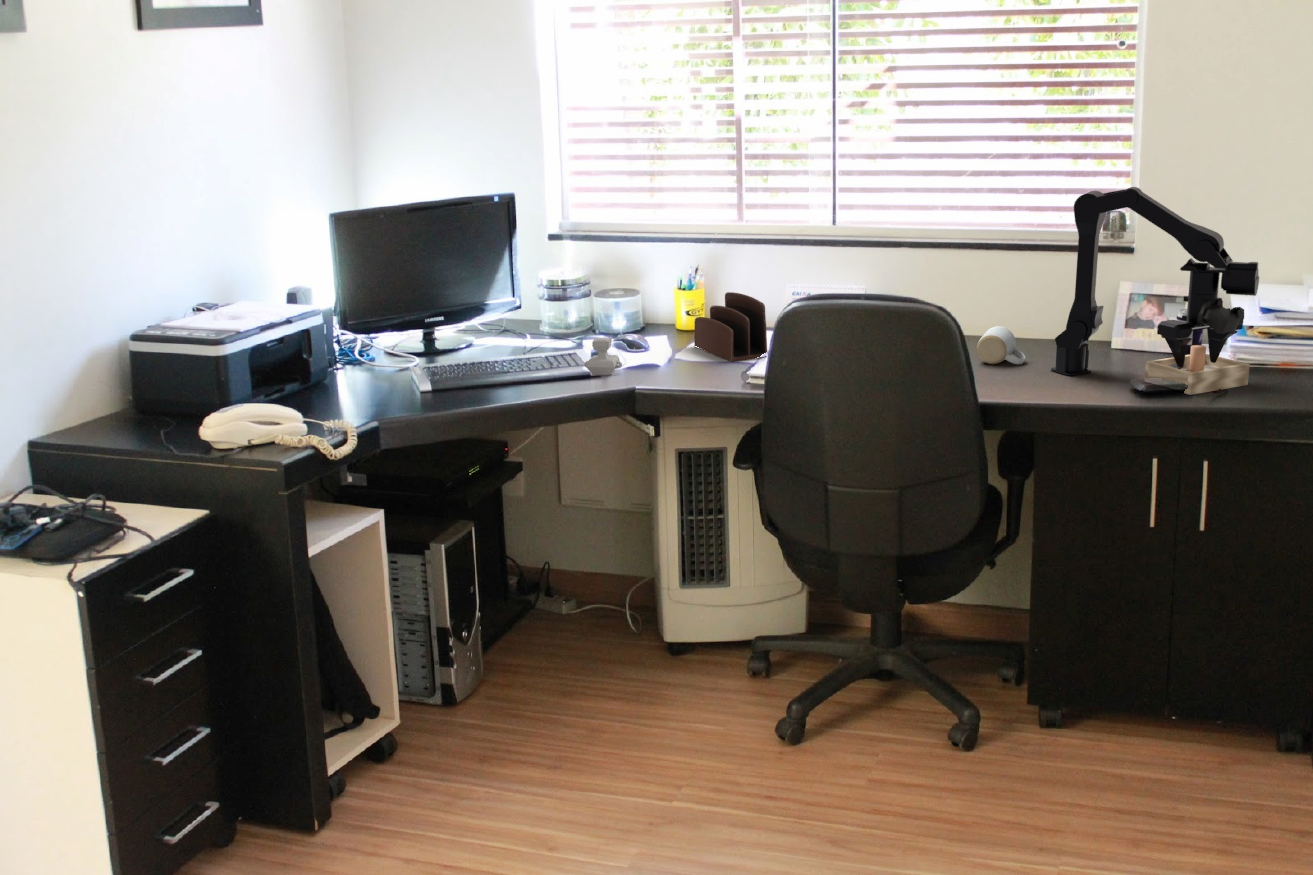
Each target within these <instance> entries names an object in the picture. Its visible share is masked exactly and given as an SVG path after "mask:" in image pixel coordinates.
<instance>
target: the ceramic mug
mask: <svg viewBox="0 0 1313 875" xmlns="http://www.w3.org/2000/svg"><path fill="white" fill-rule="evenodd" d="M1016 340H1017V339H1016V336H1015V335H1014V333H1013V332H1012V331H1011V330H1010V329H1008V328H1007V327H1005V326H1002V325H1001V326H1000V325H999V326H992V327H990V328H989V329H987V330H986V332H985V333H984V334H983V335H982V336H981V337H980V339H979V341H978V342H977V345H976V352H977V355H978V357H979V358H980V359H979V360H981V361H982V362H984V363H986V364H989V365H996V364H999V363H1001V362H1002V363H1003V361H1005V360H1006V361H1007V362H1009V363H1011V364H1014V365H1019V364H1020V365H1023V364H1024V362H1025V360H1026V355H1025V354H1024V353H1023V352H1022V351H1021V350H1020V349H1018V348H1016V346H1017V341H1016ZM1013 355H1014V356H1013Z"/></svg>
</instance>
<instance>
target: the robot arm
mask: <svg viewBox="0 0 1313 875" xmlns="http://www.w3.org/2000/svg"><path fill="white" fill-rule="evenodd" d="M1125 208H1126V209H1127V208H1128V209H1130V210H1131V211H1133V212H1135V213H1136V214H1138V215H1139V216H1141V217H1142V218H1144V219H1145V220H1147V221H1148V222H1149V223H1151V224H1153V225H1154V226H1156V227H1158V228H1159V229H1161V230H1162V231H1164V232H1165V233H1167V234H1168V235H1170V236H1171V237H1172V238H1174V239H1175V240H1176V241H1177V242H1178V243H1179V245H1180V246H1181V247H1182V249H1184V250H1185V251H1186V252H1187V253H1188V254H1189V255H1190V256H1191V258H1189V259H1188V260H1187V261H1186V263H1184V264H1183V265H1182V266H1180V267H1179V268H1180V269H1179V270H1180V271H1181V272H1189V284H1188V292H1187V294H1188V295H1184V296H1183V302H1185V303H1187V304H1186V305H1187V307H1186V309H1187V315H1182V320H1183V321H1187V322H1182V321H1178V320H1177V319H1168V320H1161V321H1160V322H1159V323H1158V324H1157V332H1156V334H1157V335H1160V336H1161V338H1163V339H1164V340H1165V341H1166V343H1167V346H1168V347H1169V349H1170V351H1171V354H1172V357H1174V359H1175V361H1176V364H1177V366H1178V367H1179V368H1183V366H1184V361H1185V353H1186V346H1187V344H1188V343H1189V342H1190V341H1191V339H1192V338H1188V337H1189V336H1190V335H1191V333H1192V331H1195V330H1202V329H1203V330H1206V331H1207V344H1208V354H1209V356H1210V361H1211V362H1212V363H1215V362H1216V361H1217V359H1218V357H1220V355H1221V352H1222V350H1223V348H1224V347H1225V344H1226V343H1227V340H1228V339H1229V338H1230V337H1232V336H1233V335H1236V334H1238V332H1239V331H1240V330H1243V325H1244V319H1245V309H1244V308H1242V307H1241V306H1237V307H1232V308H1226V307H1223V303H1224V301H1223V298H1222V297H1219V287H1220V289H1223V291H1224V292H1225V294H1226V295H1238V296H1257V294H1258V291H1259V290H1258V289H1259V283H1260V276H1259V263H1258V261H1251V262H1250V261H1248V262H1247V261H1246V262H1243V261H1241V262H1239V261H1233V258H1232V257H1231V255H1230V254H1229V253H1228V252H1227V250H1226V249H1225V248H1224V246H1225V242H1224V238H1223V236H1222V235H1221V234H1220V233H1219V232H1217V231H1215V230H1213V229H1209V228H1208V227H1206V226H1203V225H1200V224H1196V223H1193V222H1191V221H1188V220H1187V219H1185V218H1183V217H1182V216H1180V215H1179V214H1177V213H1176V212H1174V211H1173V210H1171V209H1169V208H1168V207H1166V206H1165V205H1163V204H1161V203H1160V202H1159V201H1157V200H1155V199H1154V198H1152V197H1151V196H1149V195H1148V194H1147V193H1144V192H1143V190H1142V189H1140V188H1139V187H1136V186H1130V187H1127V188H1126V189H1120V190H1113V191H1109V192H1104V193H1103V192H1101V191H1099V190H1090V191H1088V192H1086V193H1084V194H1082V195H1080V196H1078V197H1077V198H1076V199H1075V201H1074V203H1073V214H1074V223H1075V226H1076V230H1077V234H1078V242H1077V243H1078V244H1077V258H1076V259H1077V260H1076V272H1075V288H1074V298H1073V302H1072V305H1071V308H1070V311H1069V314H1068V318H1067V322H1066V325H1065V329H1064V330H1063V331H1062V332H1061V333H1060V334H1059V335H1057V336H1055V338H1054V341H1055V344H1056V345H1055V346H1056V355H1055V356H1056V357H1055V367H1050V371H1051V372H1052V371H1053V372H1055V373H1060V374H1063V375H1066V376H1076V375H1083V374H1089V373H1092V372H1093V371H1092V369H1090V368H1089V361H1090V360H1089V359H1090V357H1089V356H1090V350H1089V344H1088V343H1087V342H1089V339H1090V337H1092V336H1093V335H1095V333H1098V330H1099V328H1100V326H1101V325H1103V322H1104V320H1102V318H1103V312H1104V305H1098V304H1097V301H1096V285H1097V272H1098V259H1099V258H1098V256H1099V243H1100V242H1099V241H1100V233H1101V231H1102V227H1103V225H1104V223H1105V220H1106V219H1105V218H1106V215H1107V213H1108V212H1113V211H1117V210H1120V209H1125ZM1194 259H1195V260H1196V261H1198V262H1196V261H1195V260H1194ZM1220 274H1221V280H1220ZM1219 284H1220V285H1219ZM1196 325H1197V326H1196ZM1238 330H1239V331H1238Z"/></svg>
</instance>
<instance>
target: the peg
mask: <svg viewBox="0 0 1313 875" xmlns="http://www.w3.org/2000/svg"><path fill="white" fill-rule="evenodd" d="M1206 354H1207V346H1205V345H1202V346H1201V345H1193V346H1191V352H1190V364H1189V371H1190V372H1196V371H1202V370H1204V367H1205V355H1206Z"/></svg>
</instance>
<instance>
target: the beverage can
mask: <svg viewBox="0 0 1313 875" xmlns="http://www.w3.org/2000/svg"><path fill="white" fill-rule="evenodd" d="M1182 315H1187V308H1186V309H1185V308H1184V309H1179V311H1178V314H1177V315H1176V320H1178V321H1182V322H1187V321H1183V320H1182ZM1196 326H1197V325H1196ZM1203 332H1204V329H1202V330H1195V331H1192V333H1191V335H1190V336H1189V337H1188V338H1192V339H1191V341H1190V342H1189V343H1188V344H1187V346H1186V353H1185V355H1190V352H1191V346H1193V345H1201V346H1203Z"/></svg>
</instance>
